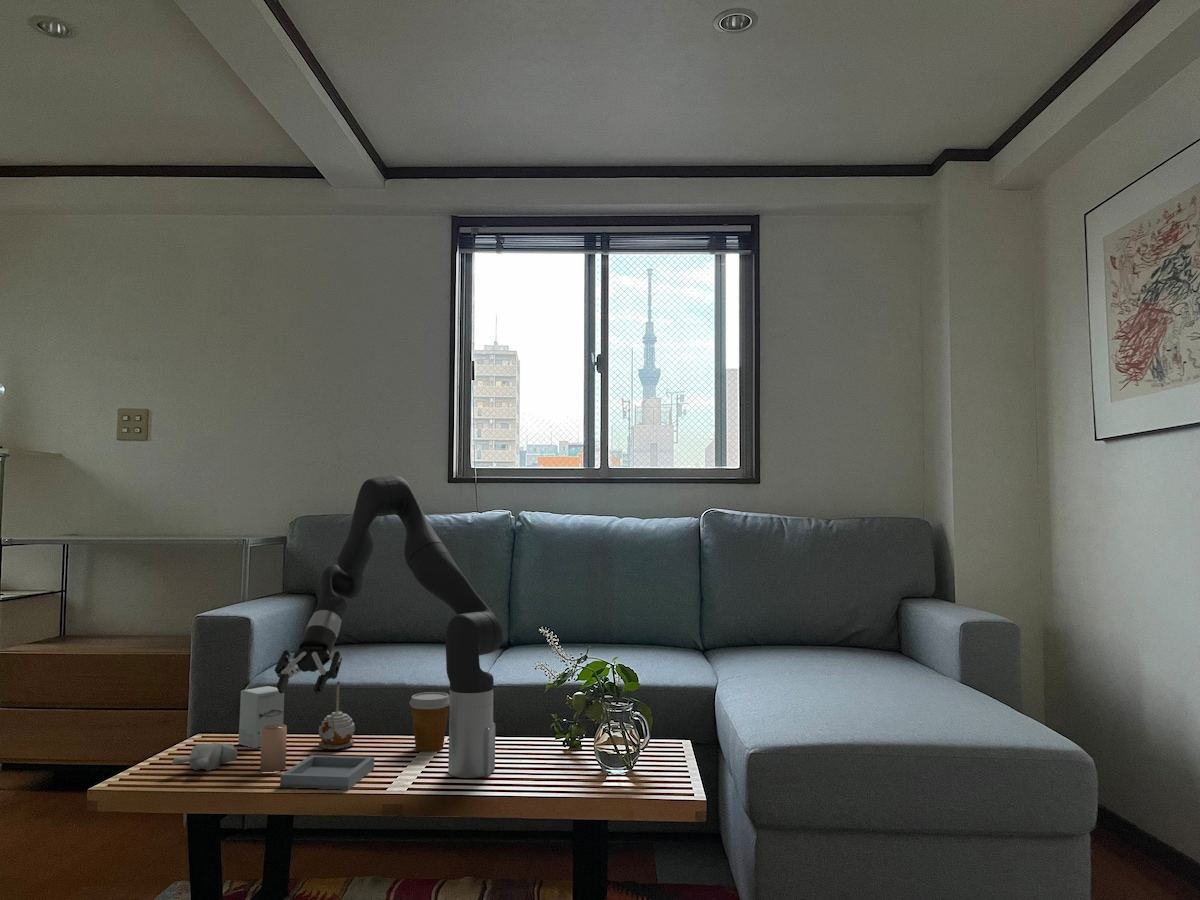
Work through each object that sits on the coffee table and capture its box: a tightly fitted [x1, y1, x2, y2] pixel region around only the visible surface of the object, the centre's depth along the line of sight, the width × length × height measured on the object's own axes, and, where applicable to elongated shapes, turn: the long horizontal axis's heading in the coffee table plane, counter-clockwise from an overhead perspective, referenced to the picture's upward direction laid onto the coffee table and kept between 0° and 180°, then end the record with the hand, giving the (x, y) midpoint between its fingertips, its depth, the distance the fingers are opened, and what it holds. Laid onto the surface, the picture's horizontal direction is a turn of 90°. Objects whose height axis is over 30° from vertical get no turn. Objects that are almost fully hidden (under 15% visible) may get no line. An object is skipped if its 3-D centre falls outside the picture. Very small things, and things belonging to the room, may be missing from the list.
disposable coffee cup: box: [409, 691, 450, 753], centre depth 195 cm, size 10×10×12 cm
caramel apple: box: [318, 680, 356, 750], centre depth 196 cm, size 8×8×15 cm
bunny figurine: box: [171, 742, 238, 772], centre depth 179 cm, size 10×5×15 cm
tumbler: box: [259, 723, 288, 773], centre depth 178 cm, size 5×5×9 cm
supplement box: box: [238, 685, 285, 749], centre depth 199 cm, size 7×7×13 cm
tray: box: [279, 754, 375, 791], centre depth 172 cm, size 14×14×2 cm
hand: (298, 692), depth 189 cm, fingers open, 8 cm apart
